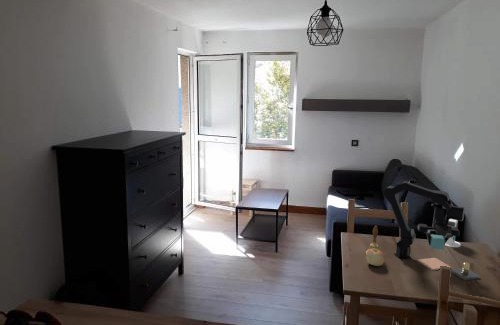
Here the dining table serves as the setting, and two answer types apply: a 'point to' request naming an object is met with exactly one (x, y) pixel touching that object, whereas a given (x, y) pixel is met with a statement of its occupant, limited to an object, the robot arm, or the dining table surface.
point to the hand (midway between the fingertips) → (436, 245)
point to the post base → (464, 276)
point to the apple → (375, 257)
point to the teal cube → (437, 242)
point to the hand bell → (374, 240)
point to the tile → (433, 263)
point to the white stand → (451, 240)
